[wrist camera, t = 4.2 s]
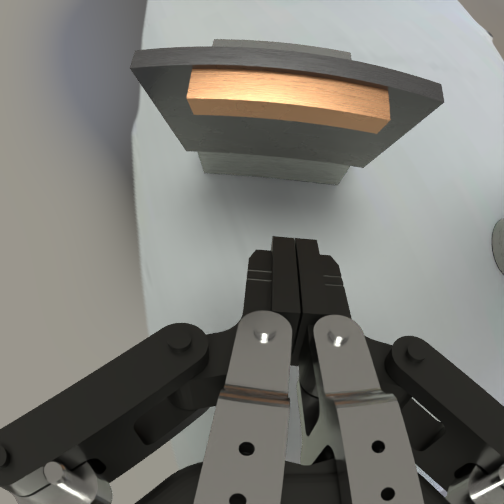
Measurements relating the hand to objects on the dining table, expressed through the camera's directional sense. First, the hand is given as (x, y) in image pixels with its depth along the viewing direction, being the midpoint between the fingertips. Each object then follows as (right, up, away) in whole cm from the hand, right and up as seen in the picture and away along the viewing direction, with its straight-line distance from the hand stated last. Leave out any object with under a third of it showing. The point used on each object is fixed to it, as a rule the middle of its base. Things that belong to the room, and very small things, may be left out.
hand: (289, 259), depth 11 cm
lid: (+1, +10, +10) cm, 14 cm away
